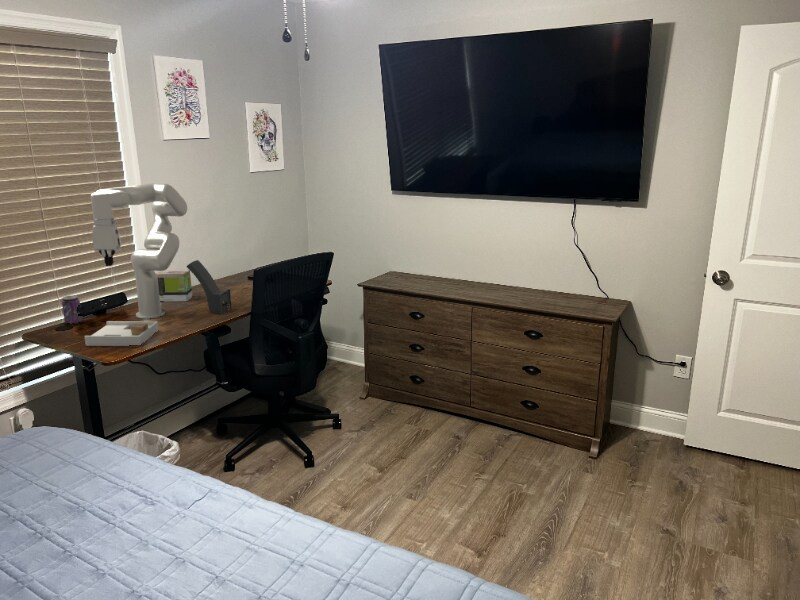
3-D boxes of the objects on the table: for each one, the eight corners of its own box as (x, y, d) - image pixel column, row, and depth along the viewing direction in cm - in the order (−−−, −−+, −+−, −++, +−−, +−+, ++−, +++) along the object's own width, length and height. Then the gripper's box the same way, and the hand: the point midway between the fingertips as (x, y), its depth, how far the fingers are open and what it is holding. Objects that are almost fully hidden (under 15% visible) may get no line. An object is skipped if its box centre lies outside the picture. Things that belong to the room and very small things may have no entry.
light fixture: (199, 306, 300) (195, 258, 293) (232, 308, 297) (228, 260, 291) (188, 312, 290) (184, 263, 283) (222, 314, 287) (218, 265, 280)
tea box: (192, 296, 317) (190, 269, 313) (187, 302, 308) (184, 273, 304) (164, 296, 317) (161, 269, 313) (157, 302, 307) (154, 273, 303)
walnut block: (136, 330, 255) (135, 323, 255) (148, 331, 255) (147, 323, 255) (131, 334, 251) (130, 326, 250) (143, 335, 251) (142, 327, 250)
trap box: (108, 329, 264) (107, 321, 263) (158, 330, 264) (157, 321, 263) (85, 345, 245) (84, 336, 244) (140, 346, 245) (139, 336, 244)
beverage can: (62, 322, 273) (58, 297, 270) (78, 319, 278) (75, 294, 275) (68, 326, 269) (64, 300, 265) (85, 322, 274) (81, 297, 271)
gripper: (125, 221, 255) (130, 263, 260) (90, 220, 255) (95, 263, 260) (118, 223, 248) (123, 267, 253) (81, 223, 247) (87, 267, 253)
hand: (109, 265), depth 256 cm, fingers closed
